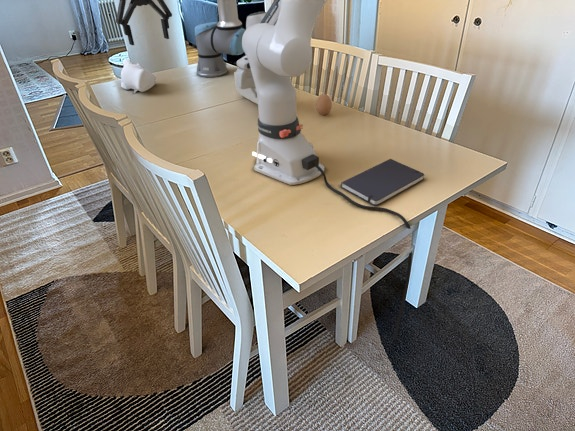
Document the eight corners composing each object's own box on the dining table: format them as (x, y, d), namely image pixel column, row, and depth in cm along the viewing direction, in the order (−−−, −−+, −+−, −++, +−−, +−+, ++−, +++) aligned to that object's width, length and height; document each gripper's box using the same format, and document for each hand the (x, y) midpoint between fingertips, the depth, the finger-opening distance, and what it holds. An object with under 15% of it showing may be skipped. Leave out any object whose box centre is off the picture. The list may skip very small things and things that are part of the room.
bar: (273, 105, 160) (272, 83, 155) (263, 107, 158) (262, 86, 153) (245, 90, 176) (243, 70, 171) (236, 92, 174) (233, 72, 169)
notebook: (389, 163, 124) (340, 187, 113) (390, 158, 123) (341, 182, 112) (424, 178, 116) (375, 206, 105) (425, 174, 115) (376, 201, 104)
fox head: (171, 69, 186) (141, 60, 194) (142, 64, 172) (111, 55, 180) (167, 98, 190) (138, 89, 199) (138, 96, 176) (109, 86, 185)
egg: (320, 118, 154) (320, 97, 149) (313, 113, 158) (313, 93, 154) (334, 115, 156) (335, 95, 151) (326, 110, 160) (327, 90, 156)
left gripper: (164, -29, 145) (175, 34, 158) (94, -23, 133) (112, 45, 145) (174, -28, 141) (184, 37, 153) (102, -22, 128) (120, 49, 140)
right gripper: (278, 53, 159) (280, 87, 167) (232, 62, 150) (236, 98, 158) (287, 56, 155) (288, 91, 163) (240, 65, 146) (244, 103, 154)
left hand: (149, 41), depth 149 cm, fingers open, 13 cm apart
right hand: (262, 95), depth 160 cm, fingers closed on bar, 4 cm apart
